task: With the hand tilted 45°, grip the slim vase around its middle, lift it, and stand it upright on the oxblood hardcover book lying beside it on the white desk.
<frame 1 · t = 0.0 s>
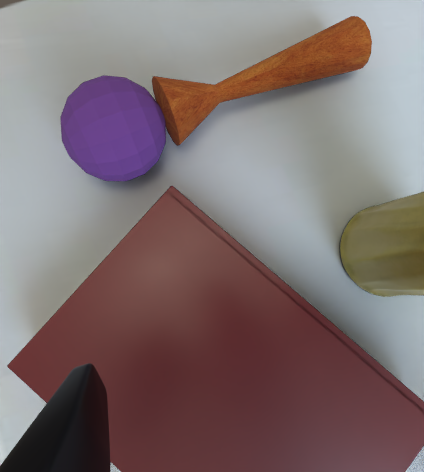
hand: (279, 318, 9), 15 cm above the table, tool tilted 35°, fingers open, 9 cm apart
book: (222, 378, 23), on the table
vase: (381, 250, 24), on the table
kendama: (219, 111, 25), on the table
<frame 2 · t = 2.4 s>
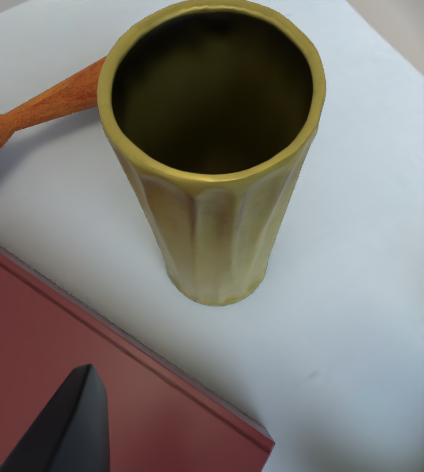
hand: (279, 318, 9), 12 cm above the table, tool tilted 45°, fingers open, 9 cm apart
book: (32, 437, 18), on the table
vase: (216, 256, 22), on the table
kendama: (35, 144, 25), on the table
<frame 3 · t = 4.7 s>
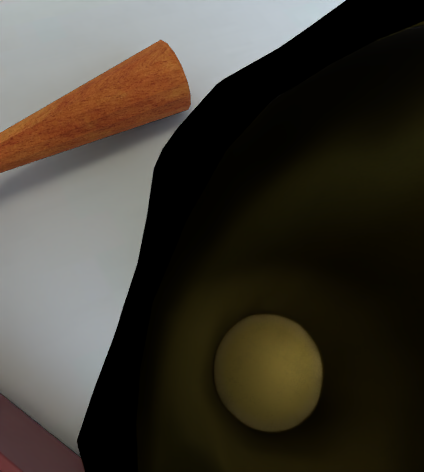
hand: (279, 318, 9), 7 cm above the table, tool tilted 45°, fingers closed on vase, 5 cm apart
vase: (264, 369, 15), on the table, touching gripper
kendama: (4, 194, 18), on the table
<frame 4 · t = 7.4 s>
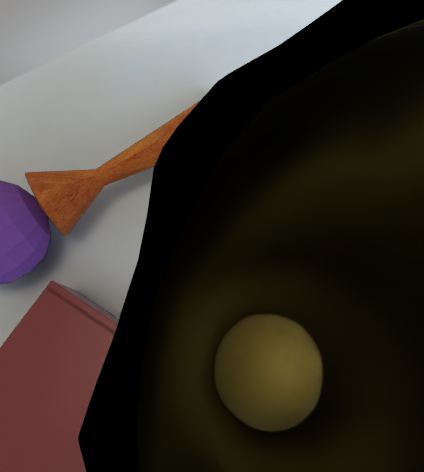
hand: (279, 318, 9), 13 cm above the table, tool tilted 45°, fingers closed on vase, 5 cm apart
vase: (264, 368, 15), point 6 cm above the table, touching gripper
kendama: (116, 193, 24), on the table
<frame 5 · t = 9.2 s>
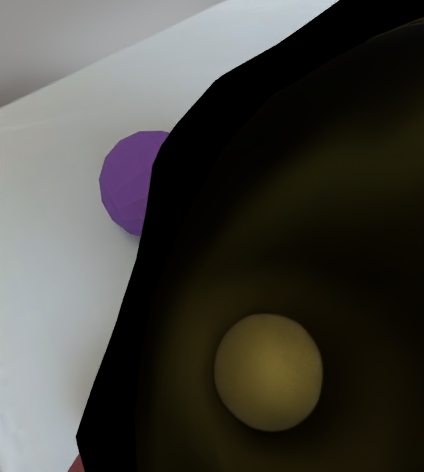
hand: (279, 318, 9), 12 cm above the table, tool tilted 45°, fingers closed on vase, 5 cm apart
vase: (264, 368, 15), point 5 cm above the table, touching gripper
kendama: (252, 155, 24), on the table
when the fingers open (10 cm above the table, at t = 10.4 s): vase stays where it is, resting on book.
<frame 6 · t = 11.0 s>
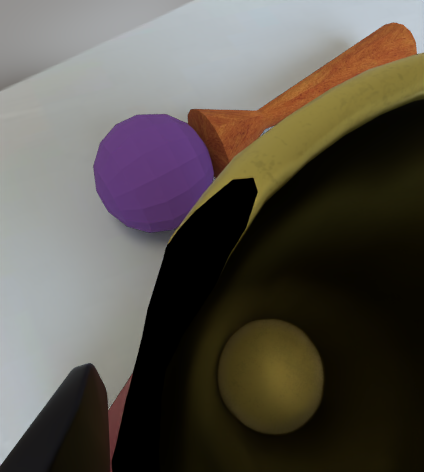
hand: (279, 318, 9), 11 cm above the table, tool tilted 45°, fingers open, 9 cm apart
book: (336, 470, 17), on the table
vase: (267, 372, 15), point 3 cm above the table, touching book
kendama: (260, 144, 23), on the table
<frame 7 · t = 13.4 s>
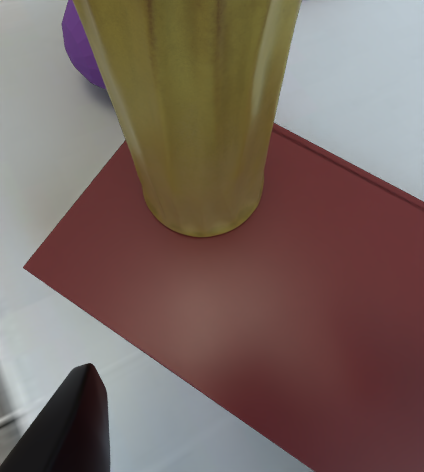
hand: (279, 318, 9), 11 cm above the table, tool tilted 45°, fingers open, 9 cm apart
book: (265, 277, 20), on the table
vase: (203, 183, 18), point 3 cm above the table, touching book
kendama: (215, 32, 25), on the table
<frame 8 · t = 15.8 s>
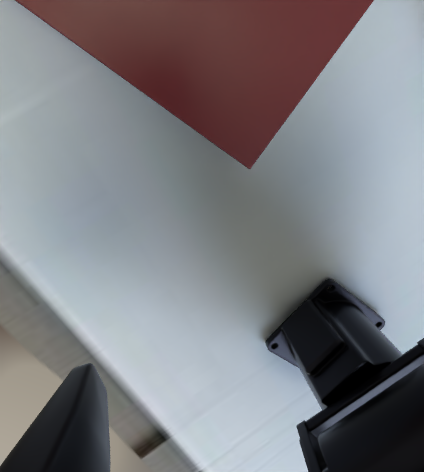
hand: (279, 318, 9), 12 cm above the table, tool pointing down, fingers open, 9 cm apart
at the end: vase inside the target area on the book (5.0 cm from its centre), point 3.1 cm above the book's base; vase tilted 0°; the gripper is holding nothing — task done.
